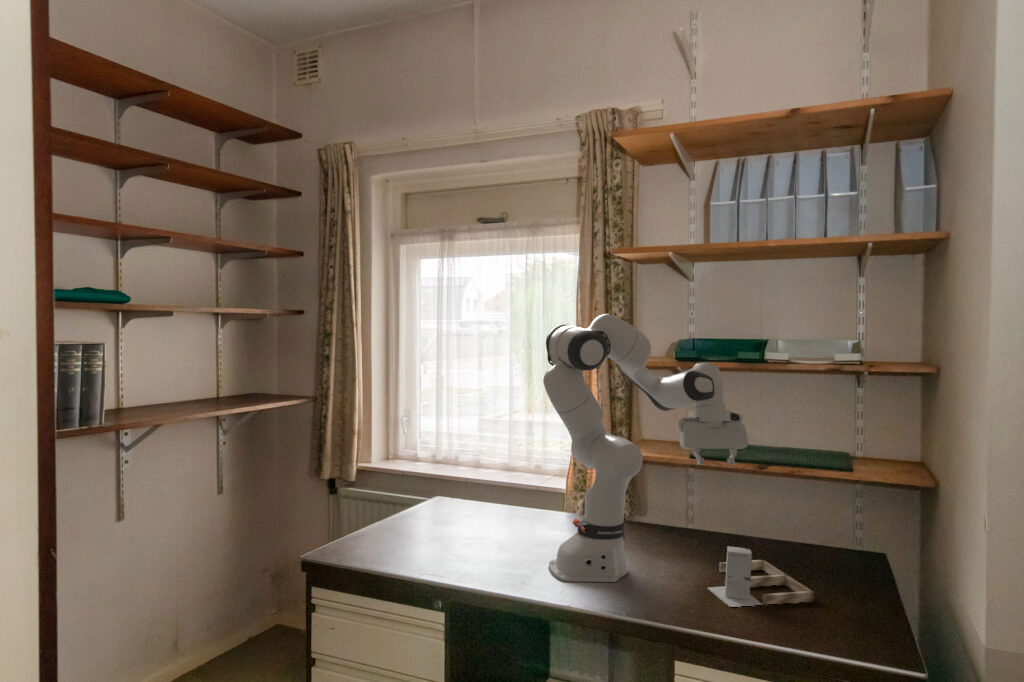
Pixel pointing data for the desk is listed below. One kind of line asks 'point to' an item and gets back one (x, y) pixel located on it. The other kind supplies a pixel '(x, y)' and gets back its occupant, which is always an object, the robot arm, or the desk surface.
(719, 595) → the grey mat
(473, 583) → the desk surface
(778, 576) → the lane rack
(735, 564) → the skincare box
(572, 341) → the robot arm
